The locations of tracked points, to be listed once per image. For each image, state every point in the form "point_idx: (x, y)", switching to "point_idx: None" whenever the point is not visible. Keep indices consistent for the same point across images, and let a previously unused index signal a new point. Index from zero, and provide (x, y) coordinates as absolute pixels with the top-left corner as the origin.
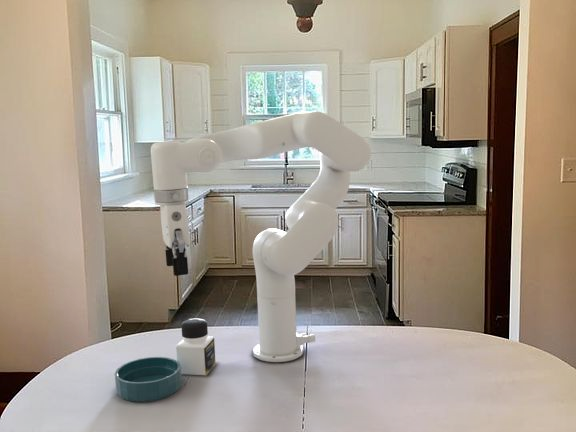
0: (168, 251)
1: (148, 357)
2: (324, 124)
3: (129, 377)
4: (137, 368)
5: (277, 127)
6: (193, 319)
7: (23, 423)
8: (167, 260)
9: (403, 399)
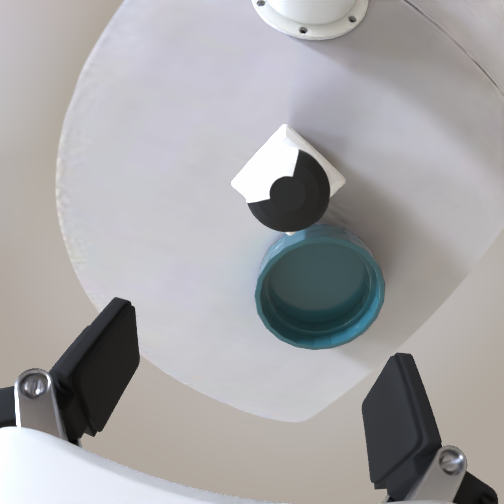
0: (98, 421)
1: (259, 279)
2: None
3: (275, 306)
4: (262, 293)
5: None
6: (271, 189)
7: (307, 412)
8: (125, 384)
9: None
